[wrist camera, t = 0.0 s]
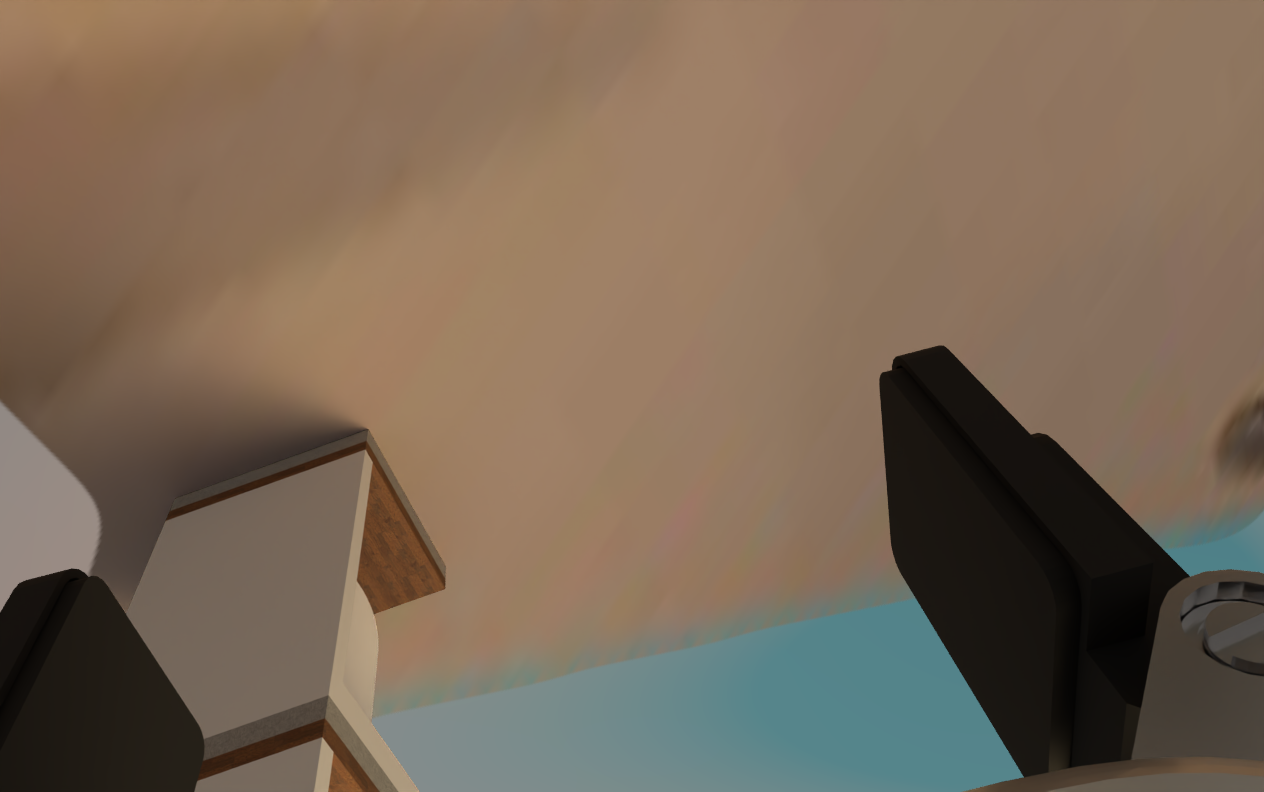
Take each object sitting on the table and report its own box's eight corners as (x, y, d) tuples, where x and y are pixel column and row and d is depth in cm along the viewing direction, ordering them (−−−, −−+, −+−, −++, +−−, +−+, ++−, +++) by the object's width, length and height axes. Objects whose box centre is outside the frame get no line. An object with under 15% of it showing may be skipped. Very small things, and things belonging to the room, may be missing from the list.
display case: (270, 628, 58) (74, 1453, 29) (175, 498, 53) (-191, 1353, 23) (445, 566, 58) (433, 1333, 28) (368, 429, 53) (252, 1203, 23)
